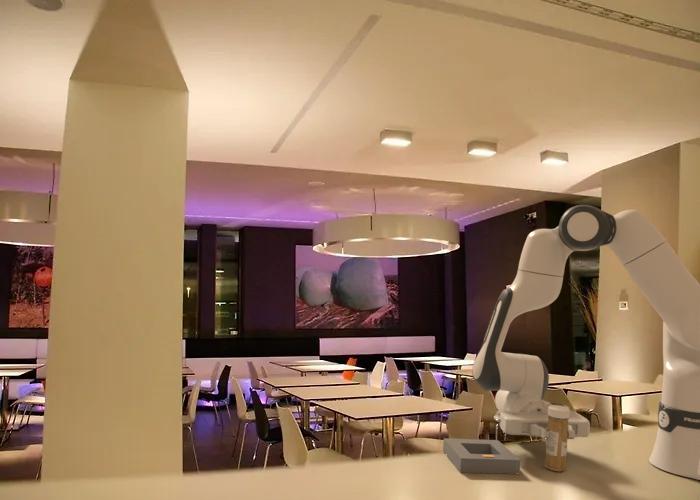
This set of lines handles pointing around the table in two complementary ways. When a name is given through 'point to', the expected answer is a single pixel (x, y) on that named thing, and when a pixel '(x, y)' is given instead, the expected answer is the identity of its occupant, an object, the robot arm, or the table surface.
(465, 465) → the square frame
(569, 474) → the table surface
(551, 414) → the sprinkles bottle
